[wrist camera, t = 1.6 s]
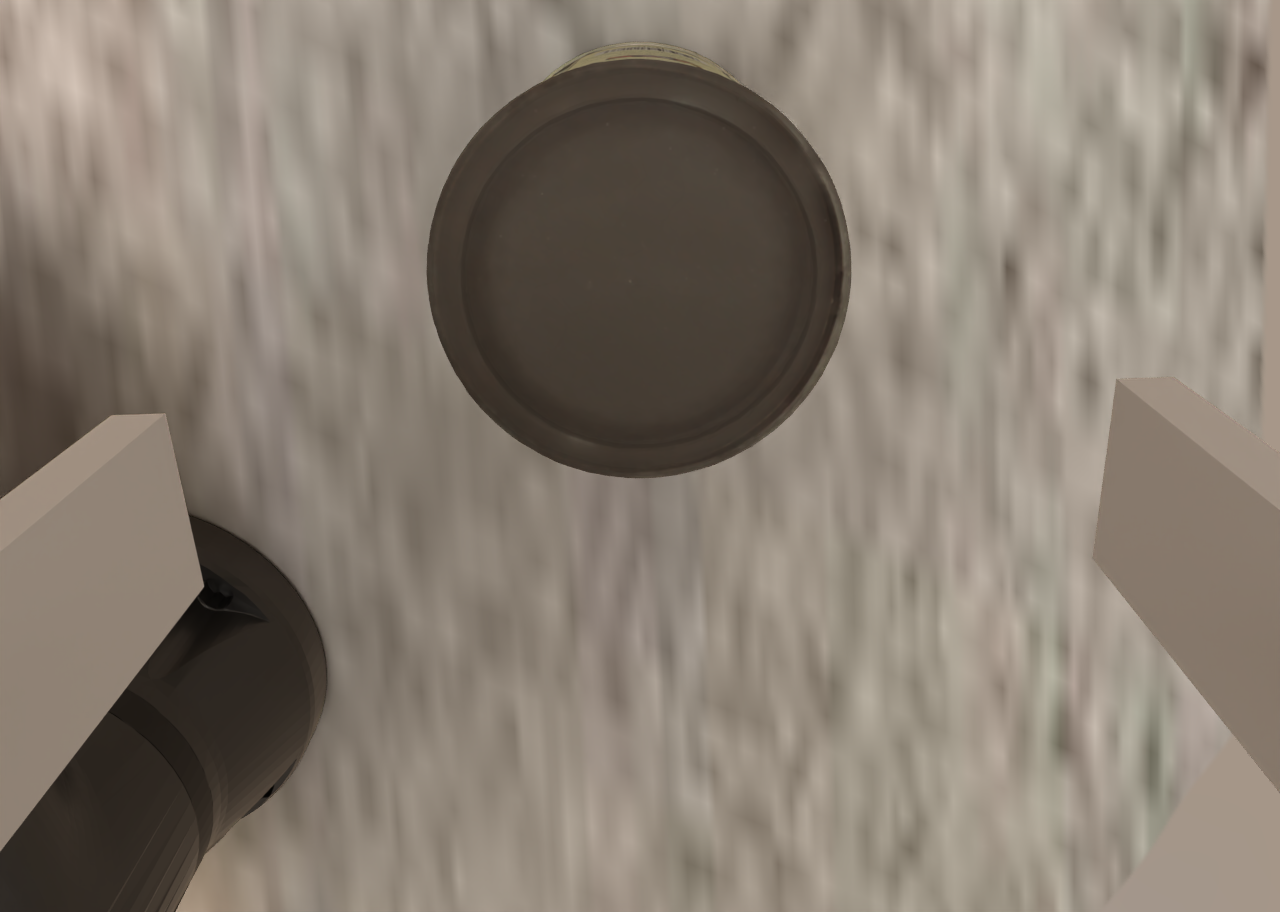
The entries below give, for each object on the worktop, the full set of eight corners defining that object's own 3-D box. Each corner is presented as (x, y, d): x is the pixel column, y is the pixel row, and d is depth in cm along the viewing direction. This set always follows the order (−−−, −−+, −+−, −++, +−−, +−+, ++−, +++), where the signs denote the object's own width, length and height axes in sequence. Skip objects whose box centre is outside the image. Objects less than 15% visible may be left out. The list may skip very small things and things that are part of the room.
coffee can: (565, 368, 42) (528, 532, 29) (452, 107, 38) (351, 159, 25) (821, 273, 40) (903, 401, 27) (729, -8, 37) (774, -16, 24)
